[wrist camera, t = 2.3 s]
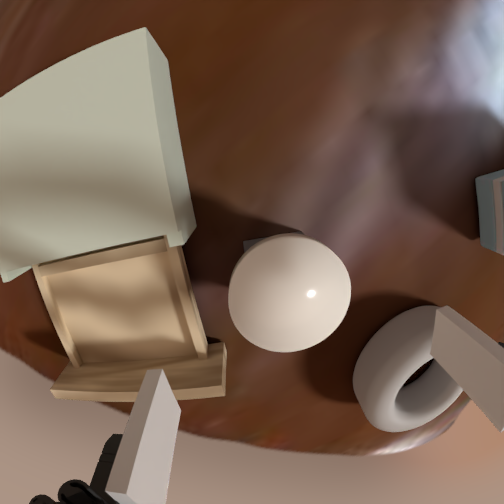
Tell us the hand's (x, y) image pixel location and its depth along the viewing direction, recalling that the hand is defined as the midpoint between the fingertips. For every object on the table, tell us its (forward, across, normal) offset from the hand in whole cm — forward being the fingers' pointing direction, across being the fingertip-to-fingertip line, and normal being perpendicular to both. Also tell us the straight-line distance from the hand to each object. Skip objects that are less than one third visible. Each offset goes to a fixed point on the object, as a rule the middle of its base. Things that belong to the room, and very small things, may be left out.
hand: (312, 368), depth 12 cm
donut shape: (+15, +14, -15) cm, 25 cm away
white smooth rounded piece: (+8, 0, 0) cm, 8 cm away
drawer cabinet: (+14, -15, +12) cm, 24 cm away
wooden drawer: (+14, -15, 0) cm, 20 cm away
